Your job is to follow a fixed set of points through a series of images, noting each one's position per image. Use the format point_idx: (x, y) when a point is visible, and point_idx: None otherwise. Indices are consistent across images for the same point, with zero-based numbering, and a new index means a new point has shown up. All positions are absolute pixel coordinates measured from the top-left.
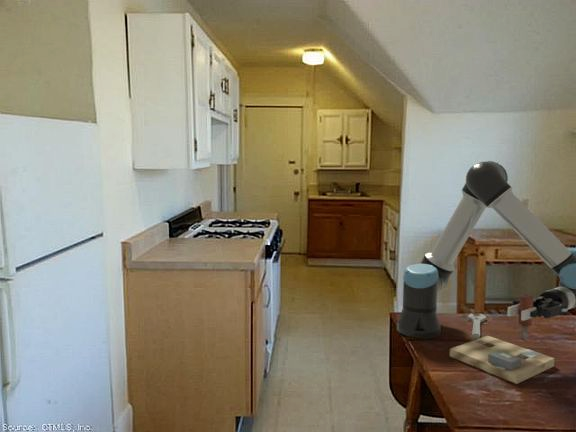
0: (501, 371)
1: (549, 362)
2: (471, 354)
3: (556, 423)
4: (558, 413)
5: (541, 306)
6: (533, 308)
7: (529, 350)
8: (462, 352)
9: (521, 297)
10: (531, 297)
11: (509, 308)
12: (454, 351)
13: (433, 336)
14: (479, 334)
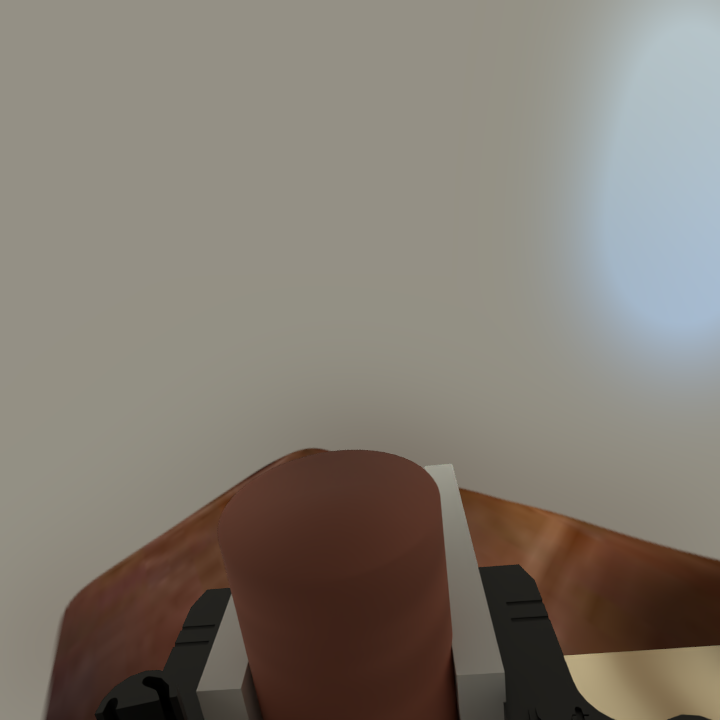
0: None
1: None
2: (615, 684)
3: (108, 584)
4: (100, 636)
5: (100, 710)
6: (224, 624)
7: None
8: (661, 663)
9: (383, 461)
10: (267, 558)
11: (431, 472)
12: (702, 651)
13: None
14: None
